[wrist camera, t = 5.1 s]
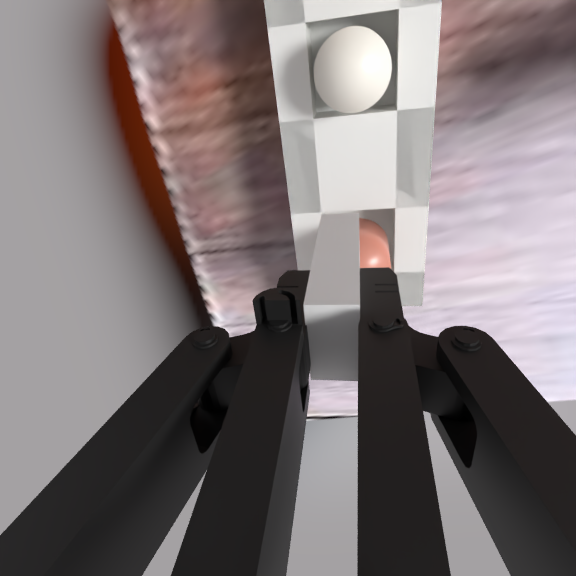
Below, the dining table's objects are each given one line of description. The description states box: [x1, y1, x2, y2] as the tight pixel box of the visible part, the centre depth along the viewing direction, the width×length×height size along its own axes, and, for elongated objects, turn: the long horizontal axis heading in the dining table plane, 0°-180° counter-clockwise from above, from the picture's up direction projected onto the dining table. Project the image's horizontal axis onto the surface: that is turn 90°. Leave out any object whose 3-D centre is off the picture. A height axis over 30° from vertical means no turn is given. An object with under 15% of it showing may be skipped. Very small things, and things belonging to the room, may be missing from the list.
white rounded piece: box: [314, 25, 392, 113], centre depth 25 cm, size 4×4×4 cm
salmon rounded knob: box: [359, 218, 391, 269], centre depth 29 cm, size 4×4×4 cm
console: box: [264, 0, 442, 306], centre depth 30 cm, size 24×10×4 cm, turn 7°
